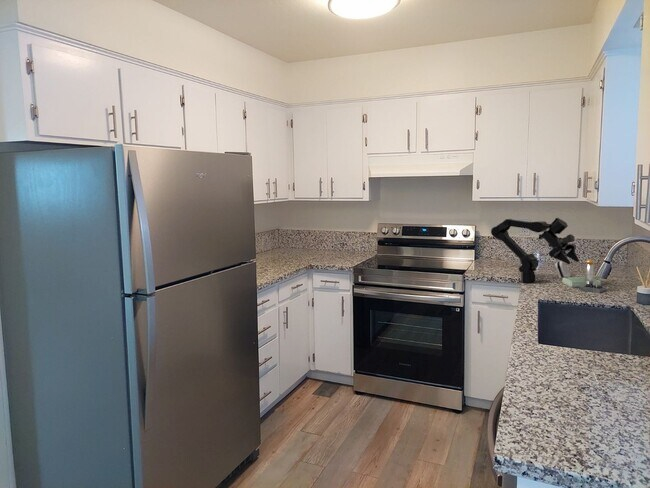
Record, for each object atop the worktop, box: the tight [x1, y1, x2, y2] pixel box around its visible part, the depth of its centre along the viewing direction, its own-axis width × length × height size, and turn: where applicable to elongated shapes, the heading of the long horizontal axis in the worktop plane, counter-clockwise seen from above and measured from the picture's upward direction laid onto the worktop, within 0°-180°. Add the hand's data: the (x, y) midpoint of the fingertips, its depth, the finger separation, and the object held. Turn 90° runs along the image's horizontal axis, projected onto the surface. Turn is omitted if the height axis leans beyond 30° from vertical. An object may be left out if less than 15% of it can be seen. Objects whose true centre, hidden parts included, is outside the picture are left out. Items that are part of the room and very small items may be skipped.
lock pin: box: [585, 259, 595, 287], centre depth 229 cm, size 4×4×15 cm
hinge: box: [554, 260, 572, 279], centre depth 270 cm, size 17×5×10 cm, turn 148°
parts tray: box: [561, 276, 602, 288], centre depth 243 cm, size 14×12×3 cm
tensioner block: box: [578, 284, 607, 294], centre depth 228 cm, size 9×7×3 cm
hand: (574, 262), depth 234 cm, fingers open, 9 cm apart
